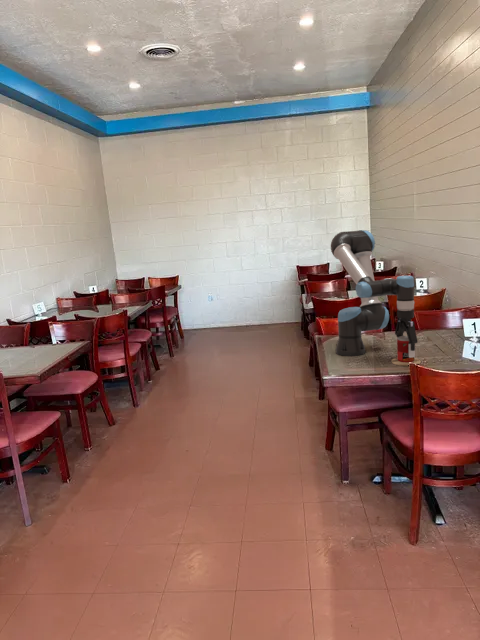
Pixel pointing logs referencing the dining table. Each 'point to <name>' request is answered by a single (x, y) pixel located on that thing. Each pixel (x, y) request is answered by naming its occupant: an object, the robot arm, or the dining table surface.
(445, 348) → the dining table surface
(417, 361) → the disc
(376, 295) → the robot arm
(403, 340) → the canned food
